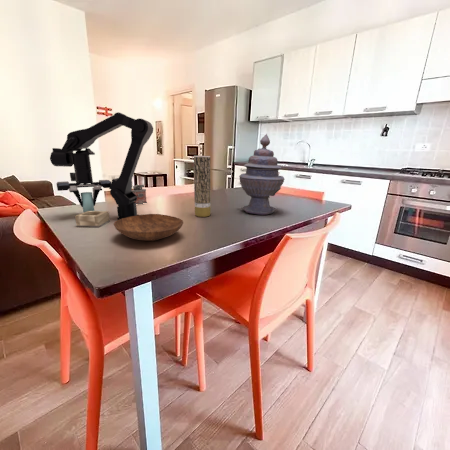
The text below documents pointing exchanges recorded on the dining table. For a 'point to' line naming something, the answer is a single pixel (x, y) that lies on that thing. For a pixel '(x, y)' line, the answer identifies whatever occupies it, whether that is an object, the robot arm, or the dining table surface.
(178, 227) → the bowl
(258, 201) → the decorative urn
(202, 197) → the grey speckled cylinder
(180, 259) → the dining table surface
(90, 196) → the peg
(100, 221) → the socket
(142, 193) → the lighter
